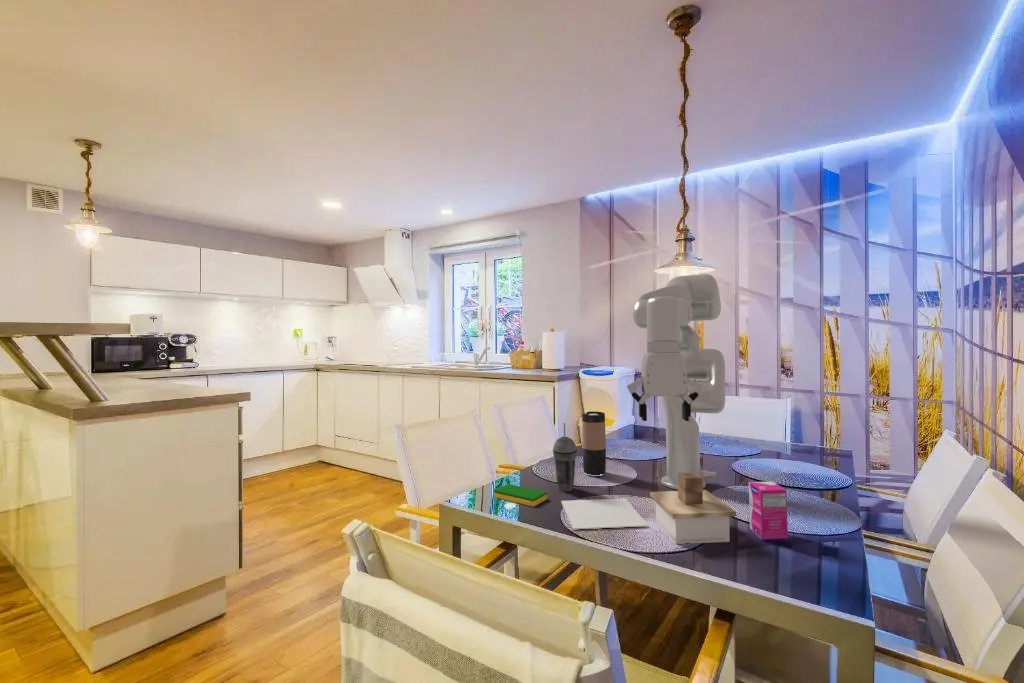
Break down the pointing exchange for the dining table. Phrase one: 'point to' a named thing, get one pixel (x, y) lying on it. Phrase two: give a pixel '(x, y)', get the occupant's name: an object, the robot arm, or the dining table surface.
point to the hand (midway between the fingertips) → (664, 420)
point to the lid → (691, 500)
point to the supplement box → (768, 511)
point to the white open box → (693, 528)
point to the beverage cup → (565, 462)
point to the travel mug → (594, 443)
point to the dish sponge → (520, 495)
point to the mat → (602, 514)
